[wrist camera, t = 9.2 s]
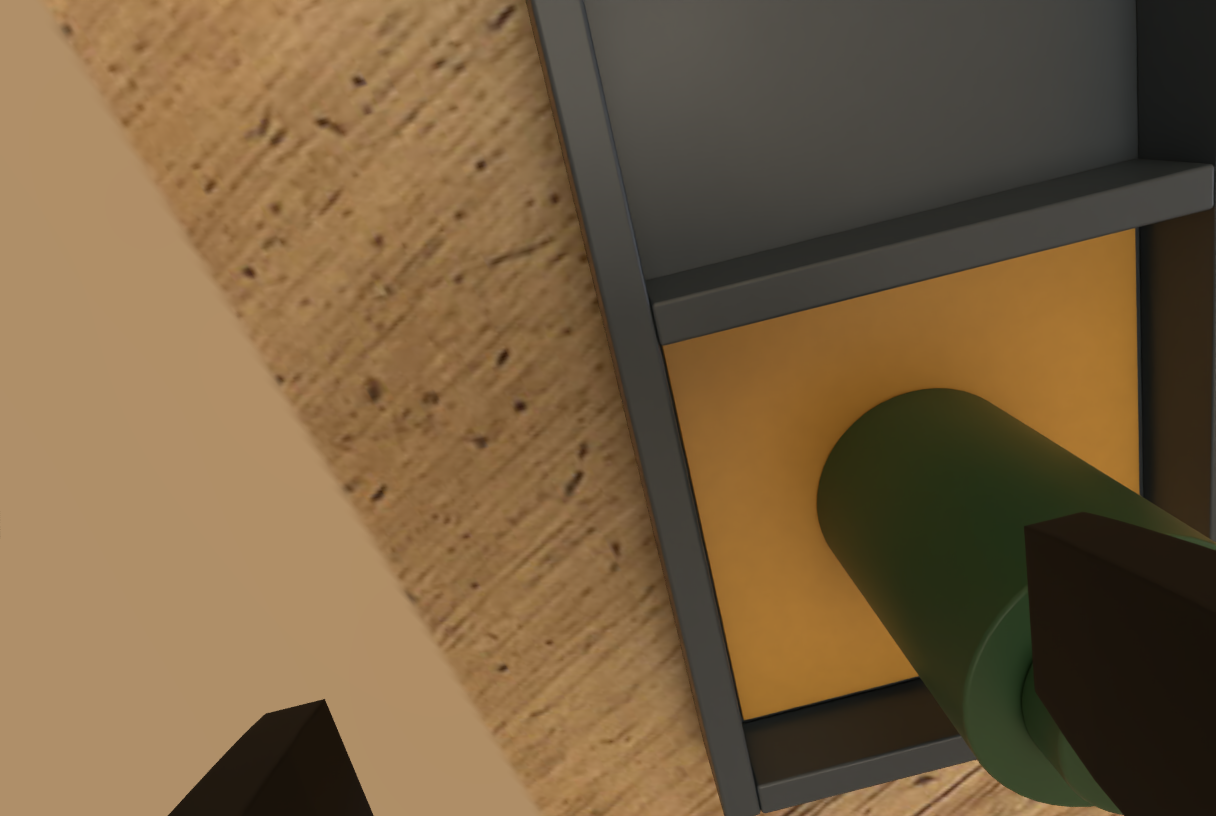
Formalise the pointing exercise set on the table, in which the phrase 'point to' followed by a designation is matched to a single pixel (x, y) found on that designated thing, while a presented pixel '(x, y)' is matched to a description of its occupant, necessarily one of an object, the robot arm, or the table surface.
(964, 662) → the bottle
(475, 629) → the table surface
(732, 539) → the tray
